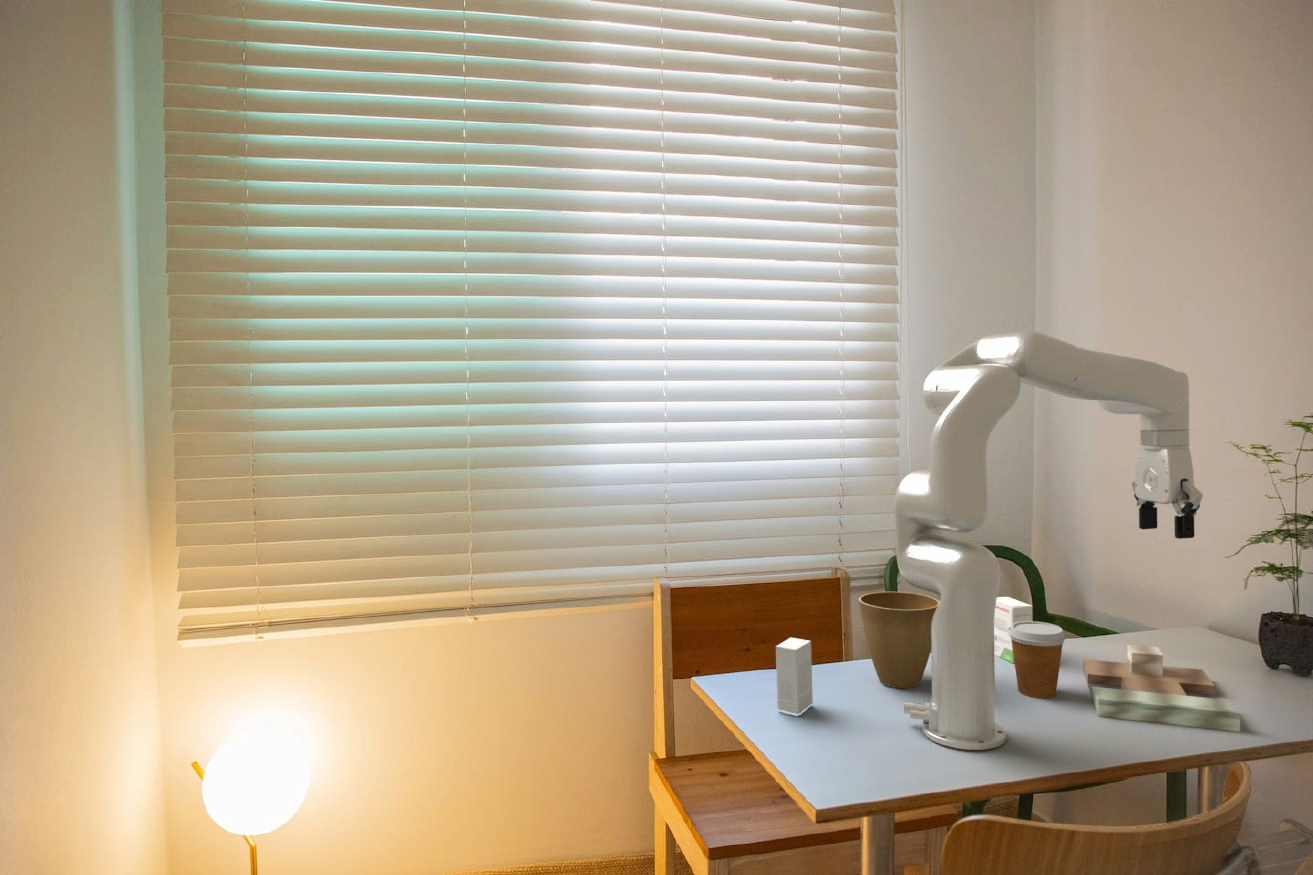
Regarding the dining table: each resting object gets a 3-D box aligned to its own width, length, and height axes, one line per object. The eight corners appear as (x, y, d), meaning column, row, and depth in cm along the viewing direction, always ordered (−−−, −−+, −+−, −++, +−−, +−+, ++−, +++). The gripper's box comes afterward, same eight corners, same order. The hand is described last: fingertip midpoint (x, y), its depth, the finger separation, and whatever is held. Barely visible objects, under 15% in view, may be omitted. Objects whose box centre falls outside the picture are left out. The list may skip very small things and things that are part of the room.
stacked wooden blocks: (1098, 716, 137) (1098, 698, 137) (1082, 669, 160) (1082, 654, 160) (1240, 731, 130) (1240, 713, 130) (1202, 679, 153) (1202, 664, 153)
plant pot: (942, 698, 147) (941, 611, 146) (857, 691, 152) (856, 607, 151) (940, 671, 161) (939, 592, 160) (862, 666, 166) (861, 588, 165)
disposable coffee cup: (997, 686, 152) (996, 623, 152) (1038, 680, 155) (1037, 618, 154) (1035, 704, 143) (1035, 637, 142) (1078, 697, 146) (1078, 631, 145)
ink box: (1034, 662, 165) (1034, 605, 165) (1012, 664, 164) (1012, 606, 164) (1008, 649, 174) (1008, 595, 173) (987, 651, 173) (987, 597, 172)
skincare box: (791, 701, 148) (790, 636, 147) (813, 706, 145) (812, 640, 145) (776, 712, 143) (774, 645, 142) (798, 717, 140) (797, 649, 140)
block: (1131, 673, 151) (1131, 652, 151) (1127, 665, 156) (1127, 644, 156) (1162, 676, 150) (1162, 655, 149) (1157, 667, 154) (1157, 647, 154)
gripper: (1115, 438, 155) (1116, 526, 156) (1177, 443, 138) (1178, 543, 139) (1153, 436, 156) (1154, 524, 157) (1220, 441, 139) (1220, 540, 140)
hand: (1165, 533), depth 148 cm, fingers open, 9 cm apart
